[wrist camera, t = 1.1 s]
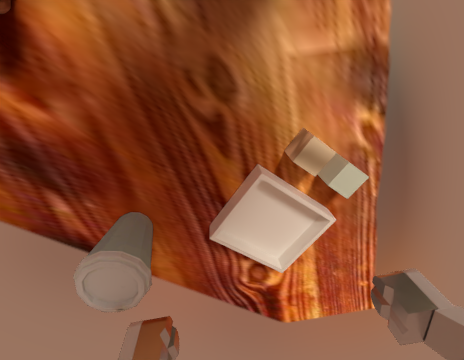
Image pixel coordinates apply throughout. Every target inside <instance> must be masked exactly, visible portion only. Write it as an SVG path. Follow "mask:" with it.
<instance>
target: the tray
mask: <svg viewBox="0 0 464 360" xmlns="http://www.w3.org/2000/svg"><path fill="white" fill-rule="evenodd" d="M335 221H336V219H335V217H334V216H333V215H332V214H331V212H330V211H329V210H328V209H327V208H326V207H325V206H323V205H321V204H320V203H318V202H317V201H315V200H314V199H312V198H310V197H309V196H307V195H306V194H304V193H303V192H301V191H300V190H298V189H296V188H295V187H293V186H292V185H290V184H289V183H287V182H285V181H284V180H282V179H281V178H279V177H278V176H276V175H274V174H273V173H271V172H270V171H268V170H267V169H265V168H263V167H262V166H260V165H259V164H257V165H256V166H255V168H254V169H253V170H252V172H251V173H250V174H249V175H248V177H247V178H246V179H245V181H244V182H243V183H242V184H241V186H240V187H239V188H238V190H237V191H236V192H235V193H234V195H233V196H232V197H231V199H230V200H229V201H228V202H227V204H226V205H225V206H224V208H223V209H222V210H221V211H220V213H219V214H218V215H217V217H216V218H215V219H214V220H213V222H212V223H211V224H210V239H211V240H213V241H215V242H217V243H219V244H222V245H224V246H226V247H228V248H230V249H232V250H234V251H236V252H239V253H241V254H243V255H245V256H247V257H249V258H251V259H253V260H256V261H258V262H260V263H262V264H264V265H266V266H268V267H270V268H272V269H275V270H277V271H279V272H281V273H283V272H284V271H285V270H286V269H287V268H288V267H289V266H290V265H291V264H292V263H293V262H294V261H295V260H296V259H297V258H298V257H299V256H300V255H301V254H302V253H303V252H304V251H305V250H306V249H307V248H308V247H309V246H310V245H311V244H312V243H313V242H314V241H315V240H316V239H317V238H318V237H319V236H321V235H322V234H323V233H324V232H325V231H326V230H327V229H328V228H329V227H330V226H331V225H332V224H333V223H334V222H335Z"/></svg>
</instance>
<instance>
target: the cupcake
mask: <svg viewBox="0 0 464 360" xmlns="http://www.w3.org/2000/svg"><path fill="white" fill-rule="evenodd" d="M10 9H11V0H0V14H5V13H6V12H8V11H9V10H10Z"/></svg>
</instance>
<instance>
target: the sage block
mask: <svg viewBox="0 0 464 360" xmlns="http://www.w3.org/2000/svg"><path fill="white" fill-rule="evenodd" d="M317 175H318V176H319V177H320V178H321V179H322V180H323V181H324V182H325V183H326V184H327V185H328V186H329V187H331V188H332V189H334V190H335V191H337V192H338V193H340V194H341V195H342V196H344V197H345V198H347V199H348V198H349V197H350V196H351V195H352V194H353V193H354V192H355V191H356V190H357V189H358V188H359V187H360V186H361V185H362V184H363V183H364V182H365V181H366V180H367V179H368V178H369V177H368V176H367V175H365V174H364V173H363V172H361V171H360V170H359V169H357V168H356V167H355V166H354V165H352V164H351V163H350V162H348V161H347V160H346V159H344V158H343V157H341V156H340V155H339V154H337V153H336V154H335V155H334V156H333V157H332V159H331V160H330V161H329V162H328V163H327V164H326V165H325V166H324V167H323V169H322V170H321V171H320V172H319V173H318V174H317Z"/></svg>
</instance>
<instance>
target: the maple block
mask: <svg viewBox="0 0 464 360" xmlns="http://www.w3.org/2000/svg"><path fill="white" fill-rule="evenodd" d="M284 151H285V153H286V154H287V155H288V156H289V158H290V159H291V160H292V161H293V162H294V163H296V164H297V165H299V166H300V167H301V168H303V169H304V170H306V171H307V172H309V173H310V174H312V175H313V176H316V175H317V174H318V173H319V172H320V171H321V170H322V169H323V167H324V166H325V165H326V164H327V163H328V162H329V161H330V160H331V159H332V157H333V156H334V155H335V154H336V152H335V151H334V150H332V149H331V148H330V147H329V146H327V145H326V144H325V143H323V142H322V141H321V140H319V139H318V138H317V137H315V136H314V135H313V134H311V133H310V132H309V131H307V130H306V129H304V128H302V129H301V131H300V132H299V133H298V134H297V136H296V137H295V138H294V139H293V140H292V142H291V143H290V144H289V145H288V147H287V148H286V149H285V150H284Z"/></svg>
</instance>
